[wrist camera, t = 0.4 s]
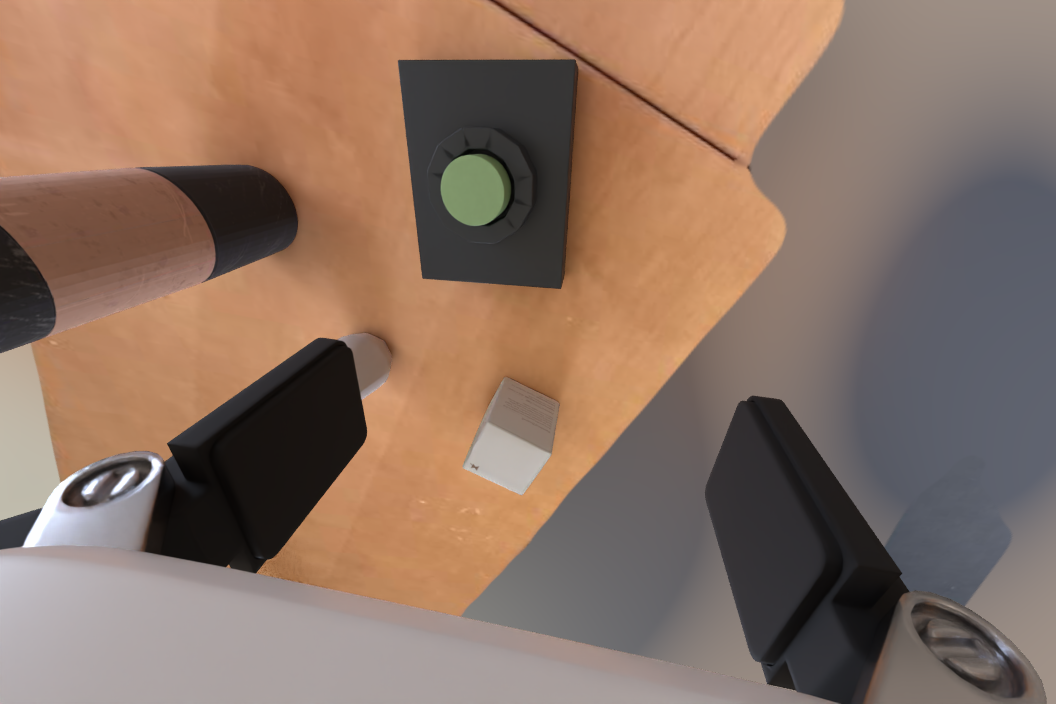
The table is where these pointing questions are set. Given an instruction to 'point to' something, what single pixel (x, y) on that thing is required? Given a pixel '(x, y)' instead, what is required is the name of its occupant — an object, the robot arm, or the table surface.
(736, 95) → the table surface
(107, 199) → the travel mug
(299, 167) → the table surface
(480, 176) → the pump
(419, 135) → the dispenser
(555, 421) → the product box
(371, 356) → the salt shaker
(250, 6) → the table surface
